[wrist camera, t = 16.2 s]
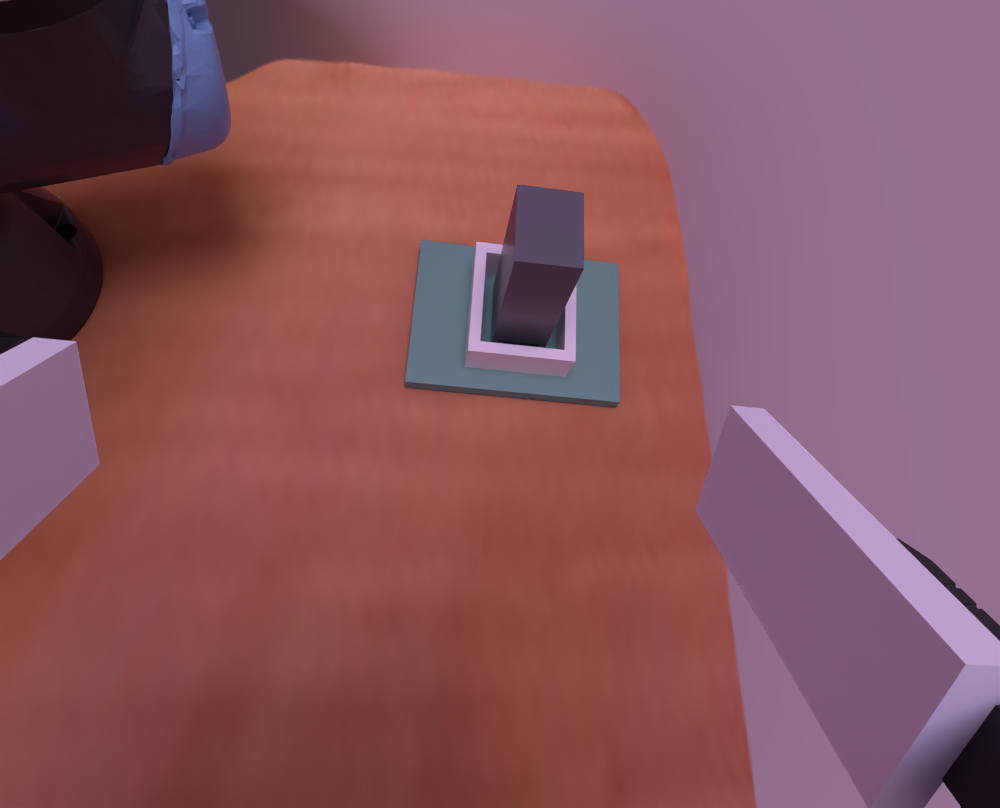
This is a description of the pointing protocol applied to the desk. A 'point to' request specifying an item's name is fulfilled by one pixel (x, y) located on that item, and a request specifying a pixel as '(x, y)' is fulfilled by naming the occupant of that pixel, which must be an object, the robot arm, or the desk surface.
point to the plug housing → (537, 264)
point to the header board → (508, 365)
